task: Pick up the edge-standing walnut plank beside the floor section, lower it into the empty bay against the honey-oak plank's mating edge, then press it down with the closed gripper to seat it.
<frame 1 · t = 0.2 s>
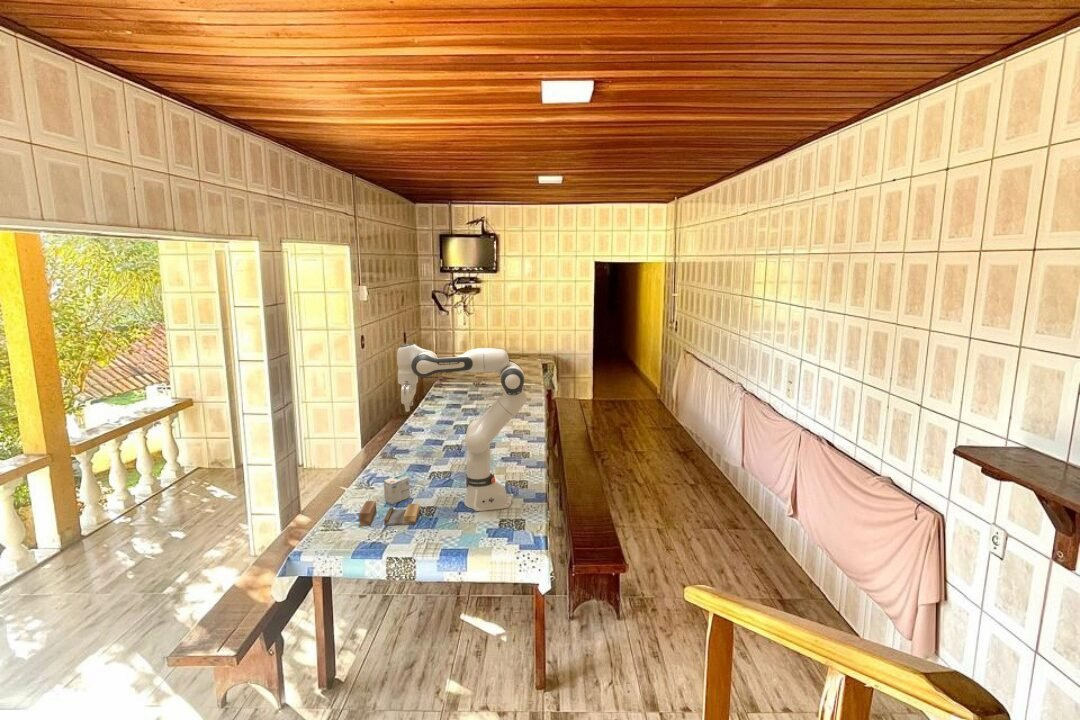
hand: (409, 408, 255), 48 cm above the table, fingers open, 8 cm apart
light bulb box: (397, 499, 270), on the table
walnut plank: (368, 519, 250), on the table
floor section: (399, 518, 250), on the table
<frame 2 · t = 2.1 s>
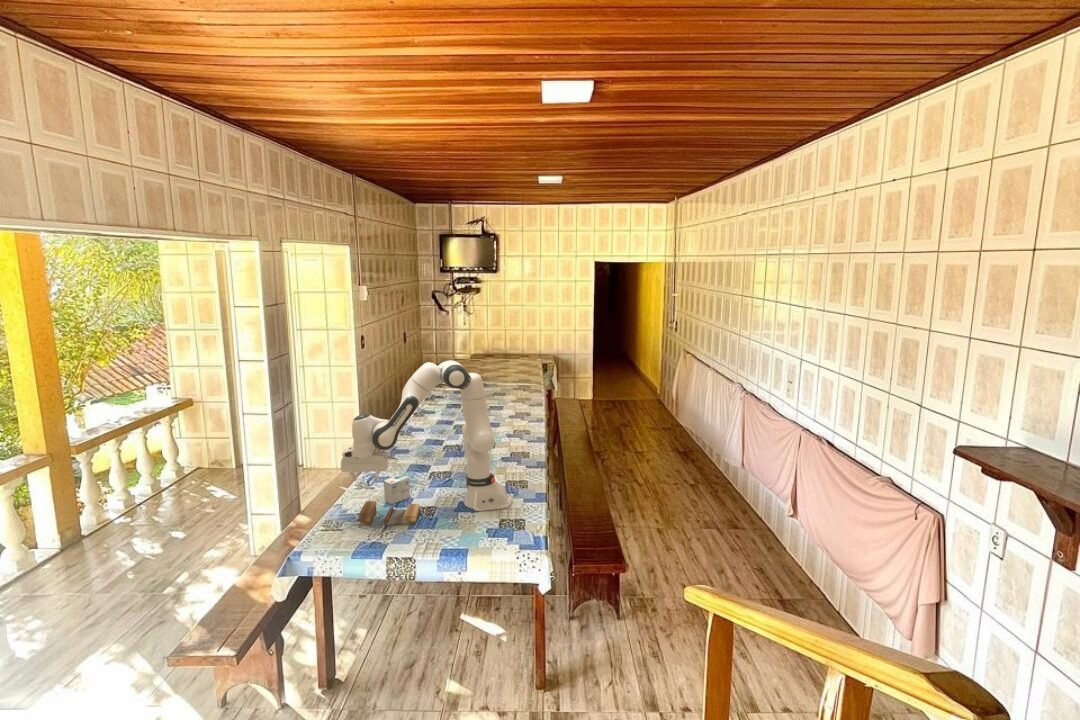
hand: (365, 480, 246), 19 cm above the table, fingers open, 8 cm apart
nothing on the table moved.
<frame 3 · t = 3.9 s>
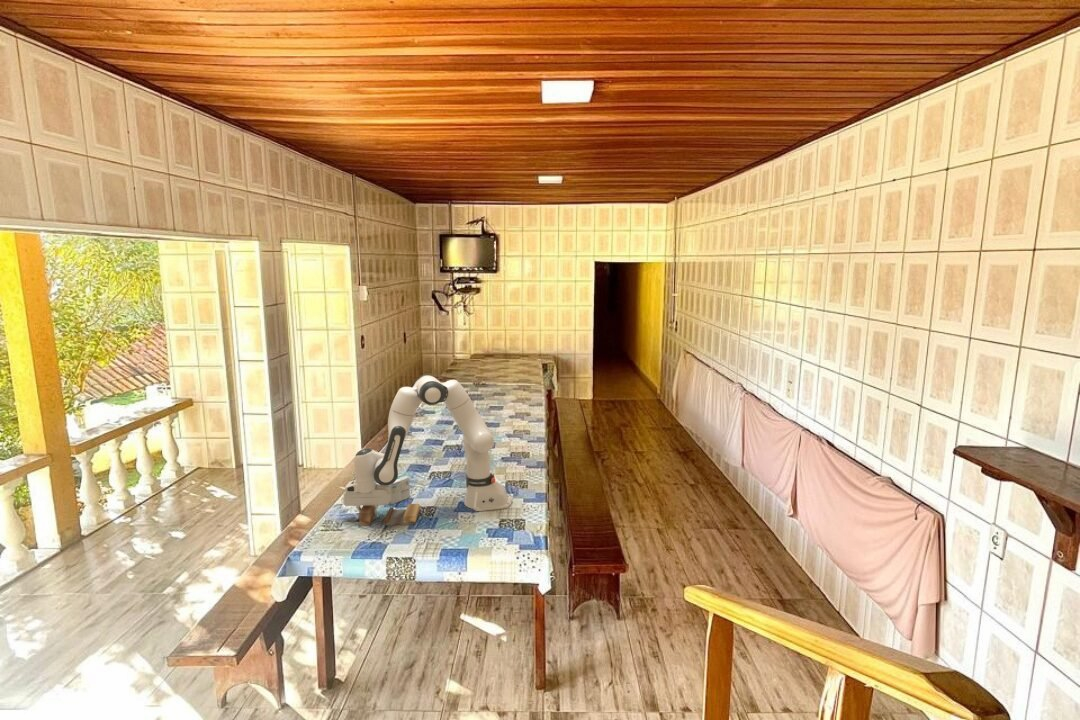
hand: (368, 513, 249), 3 cm above the table, fingers closed on walnut plank, 4 cm apart
walnut plank: (368, 519, 250), on the table, touching gripper
everything else where it was.
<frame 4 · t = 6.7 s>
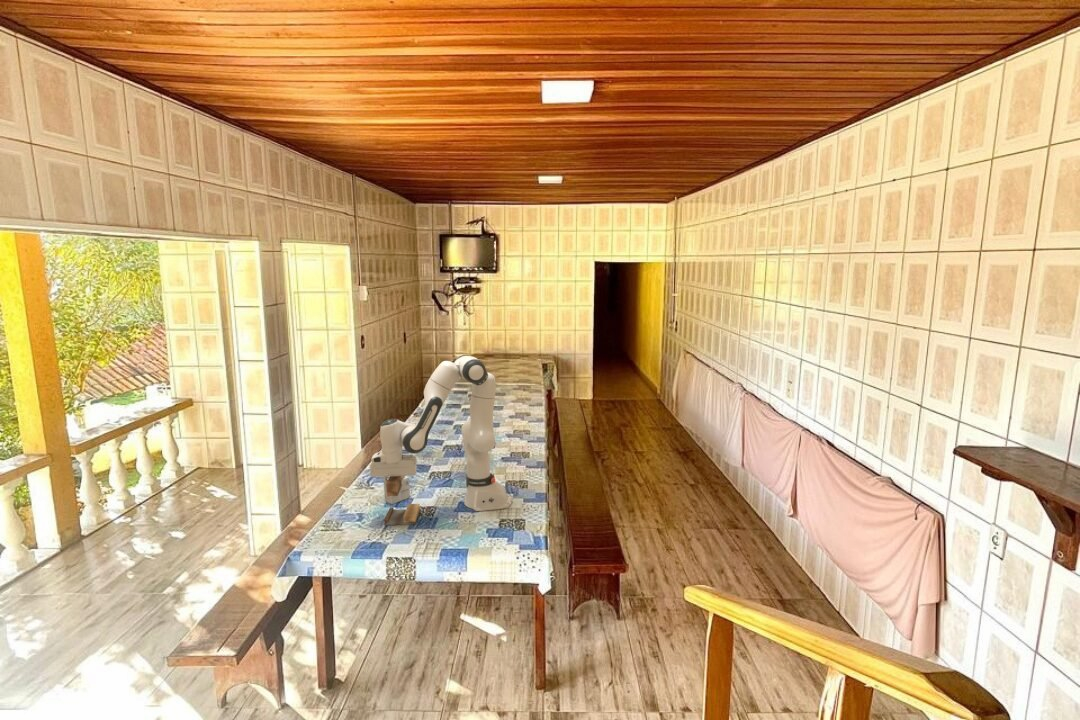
hand: (394, 484, 247), 16 cm above the table, fingers closed on walnut plank, 4 cm apart
walnut plank: (395, 490, 248), point 13 cm above the table, touching gripper
everything else where it was.
when the fingers open (6 cm above the table, at t = 9.5 s): walnut plank drops 2 cm, resting on floor section.
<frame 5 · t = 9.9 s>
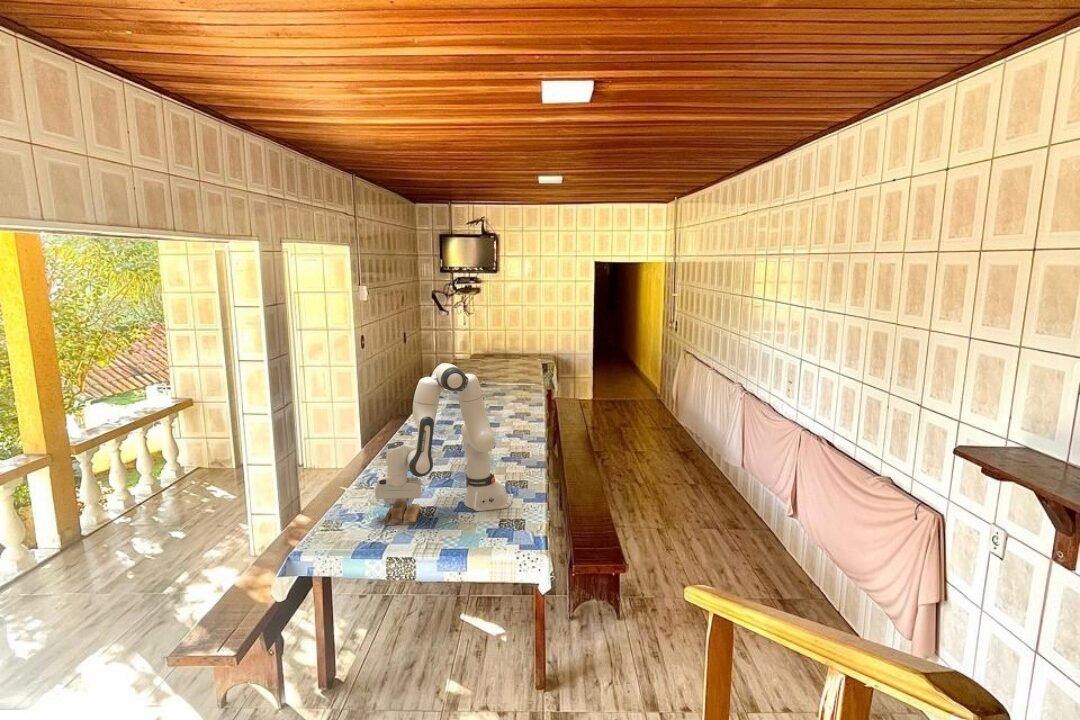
hand: (399, 506, 249), 6 cm above the table, fingers open, 8 cm apart
walnut plank: (399, 516, 250), point 1 cm above the table, touching floor section
everything else where it was.
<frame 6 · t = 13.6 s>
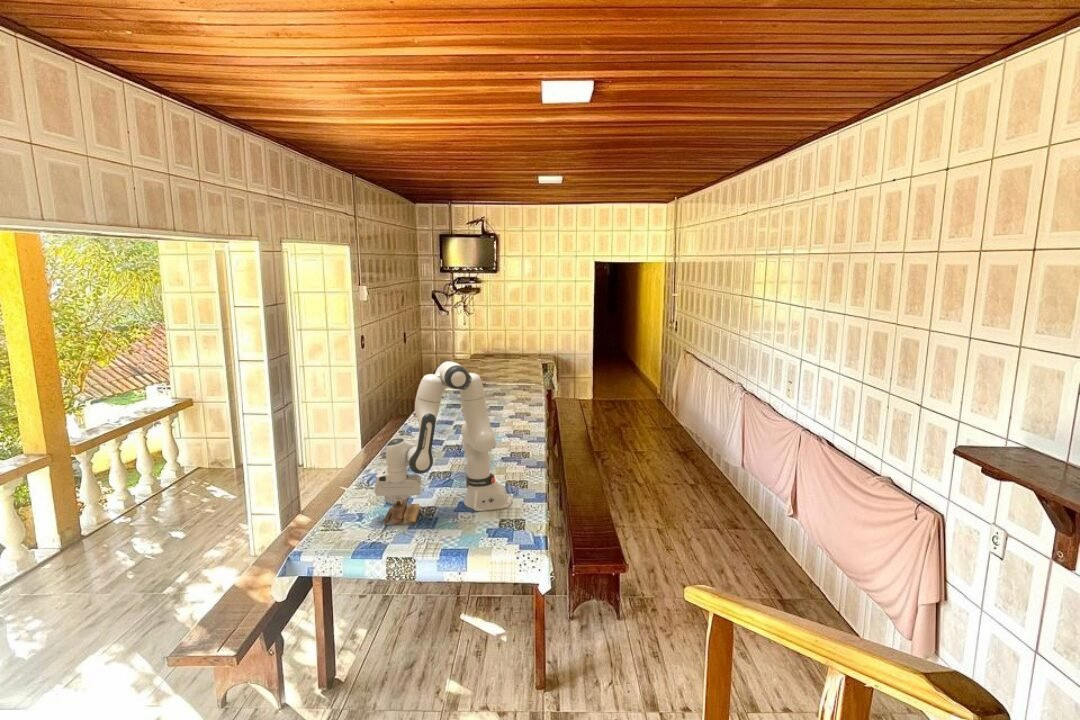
hand: (398, 503, 249), 7 cm above the table, fingers closed, pressing on walnut plank
walnut plank: (399, 516, 250), point 1 cm above the table, touching floor section, gripper
everything else where it was.
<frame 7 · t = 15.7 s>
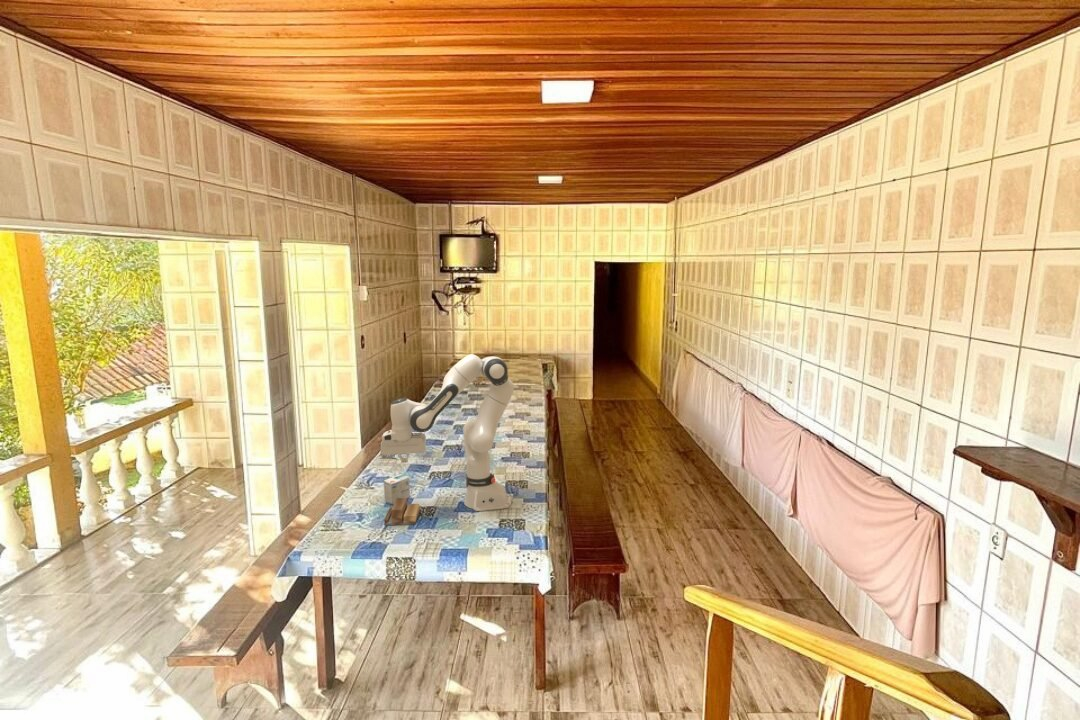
hand: (404, 462, 255), 23 cm above the table, fingers closed
walnut plank: (399, 516, 250), point 1 cm above the table, touching floor section
everything else where it was.
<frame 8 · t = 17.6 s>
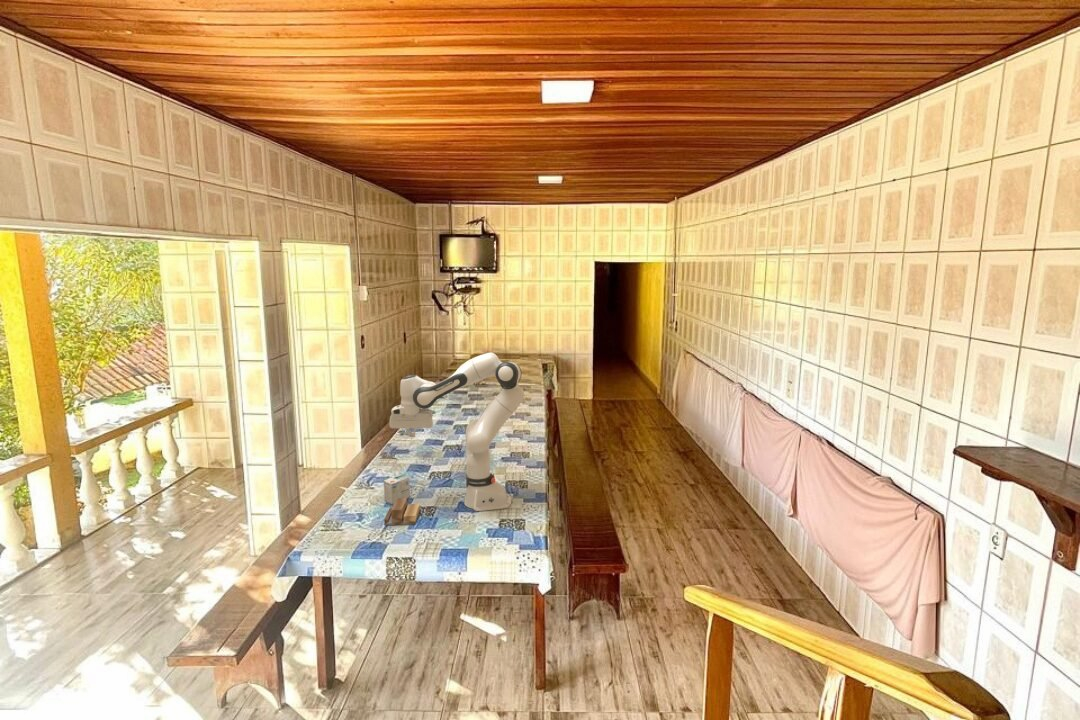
hand: (411, 436, 266), 31 cm above the table, fingers closed
nothing on the table moved.
at the end: walnut plank 0.3 cm off-centre on the floor section, point 1.0 cm above the floor section's base; walnut plank tilted 0°; the gripper is holding nothing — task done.
